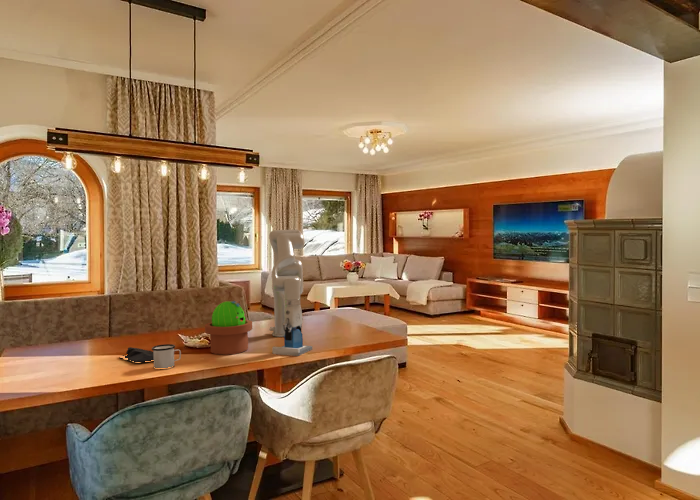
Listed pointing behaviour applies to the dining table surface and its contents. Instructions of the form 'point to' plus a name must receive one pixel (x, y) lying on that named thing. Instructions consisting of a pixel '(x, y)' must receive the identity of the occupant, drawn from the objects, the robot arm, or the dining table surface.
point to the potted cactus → (228, 329)
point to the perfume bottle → (294, 339)
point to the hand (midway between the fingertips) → (293, 338)
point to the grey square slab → (291, 350)
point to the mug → (164, 355)
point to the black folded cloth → (139, 355)
